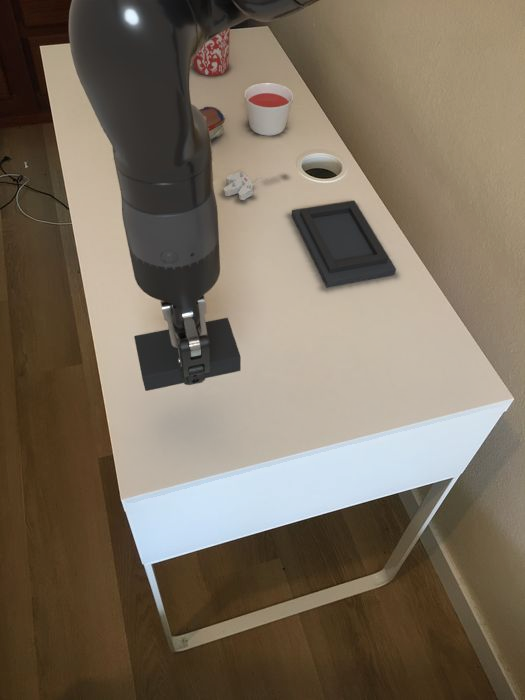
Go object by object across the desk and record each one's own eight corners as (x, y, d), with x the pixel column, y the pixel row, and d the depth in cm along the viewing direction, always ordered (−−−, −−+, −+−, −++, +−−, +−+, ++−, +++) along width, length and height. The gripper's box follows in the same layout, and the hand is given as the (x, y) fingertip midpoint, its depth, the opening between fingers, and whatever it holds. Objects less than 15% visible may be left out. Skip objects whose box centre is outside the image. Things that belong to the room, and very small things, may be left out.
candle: (291, 116, 114) (294, 84, 109) (289, 141, 108) (291, 109, 103) (246, 112, 114) (247, 81, 109) (241, 137, 108) (242, 105, 103)
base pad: (394, 274, 87) (397, 264, 85) (326, 287, 85) (328, 277, 83) (353, 205, 97) (355, 195, 95) (291, 215, 95) (292, 204, 93)
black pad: (228, 332, 63) (227, 317, 61) (240, 371, 60) (240, 356, 58) (137, 350, 61) (134, 335, 59) (145, 391, 58) (142, 377, 56)
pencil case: (121, 153, 104) (116, 127, 100) (210, 119, 112) (208, 95, 108) (154, 183, 99) (150, 157, 95) (244, 146, 107) (244, 121, 103)
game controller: (215, 190, 98) (215, 177, 96) (262, 163, 103) (263, 150, 101) (239, 205, 96) (239, 192, 94) (285, 177, 101) (286, 164, 99)
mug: (228, 56, 128) (227, -11, 117) (236, 76, 123) (236, 8, 112) (171, 60, 126) (165, -8, 115) (177, 81, 121) (171, 11, 110)
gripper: (239, 284, 44) (240, 405, 57) (199, 175, 52) (208, 302, 65) (140, 303, 42) (164, 422, 55) (115, 187, 51) (142, 315, 64)
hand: (188, 357), depth 60 cm, fingers closed on black pad, 5 cm apart
